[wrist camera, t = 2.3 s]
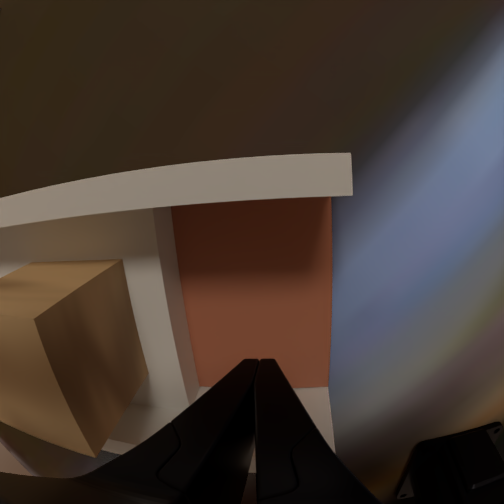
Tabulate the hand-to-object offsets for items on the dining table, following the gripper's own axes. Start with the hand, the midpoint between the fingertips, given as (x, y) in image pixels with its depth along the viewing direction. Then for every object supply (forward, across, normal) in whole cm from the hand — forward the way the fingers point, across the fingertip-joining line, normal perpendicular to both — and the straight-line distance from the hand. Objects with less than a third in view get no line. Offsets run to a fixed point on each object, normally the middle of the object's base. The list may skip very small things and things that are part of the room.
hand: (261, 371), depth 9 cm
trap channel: (+5, +11, 0) cm, 12 cm away
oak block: (+3, +8, 0) cm, 8 cm away
